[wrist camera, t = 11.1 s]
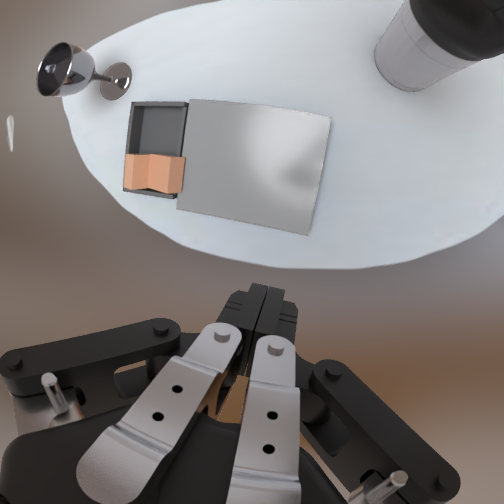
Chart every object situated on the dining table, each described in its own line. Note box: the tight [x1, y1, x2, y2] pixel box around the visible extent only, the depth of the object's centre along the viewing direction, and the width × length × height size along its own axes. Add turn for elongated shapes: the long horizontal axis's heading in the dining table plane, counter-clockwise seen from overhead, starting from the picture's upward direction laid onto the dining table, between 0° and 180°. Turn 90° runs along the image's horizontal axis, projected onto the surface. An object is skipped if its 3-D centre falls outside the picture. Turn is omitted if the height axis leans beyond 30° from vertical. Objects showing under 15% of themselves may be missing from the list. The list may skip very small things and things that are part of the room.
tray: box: [123, 102, 189, 199], centre depth 39 cm, size 14×9×4 cm, turn 171°
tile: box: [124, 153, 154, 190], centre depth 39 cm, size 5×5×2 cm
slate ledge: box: [176, 99, 331, 236], centre depth 38 cm, size 16×19×3 cm
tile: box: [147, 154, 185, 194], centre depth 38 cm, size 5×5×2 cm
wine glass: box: [36, 42, 132, 100], centre depth 31 cm, size 8×8×15 cm
